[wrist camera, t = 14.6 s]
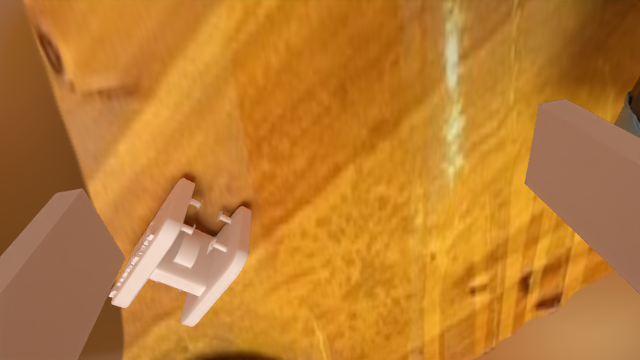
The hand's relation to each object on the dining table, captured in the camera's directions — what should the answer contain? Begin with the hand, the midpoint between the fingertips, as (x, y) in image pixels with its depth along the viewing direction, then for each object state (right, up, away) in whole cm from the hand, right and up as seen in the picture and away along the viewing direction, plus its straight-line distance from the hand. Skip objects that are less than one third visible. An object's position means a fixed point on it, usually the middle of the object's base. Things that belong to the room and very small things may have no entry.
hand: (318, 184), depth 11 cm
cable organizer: (-18, -6, +41) cm, 45 cm away
